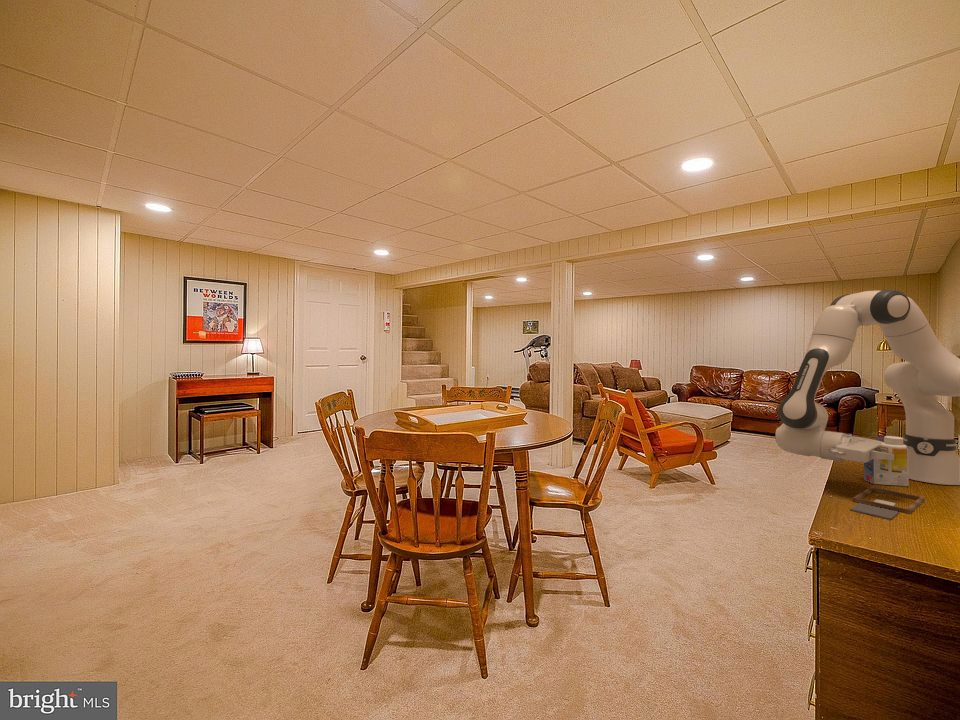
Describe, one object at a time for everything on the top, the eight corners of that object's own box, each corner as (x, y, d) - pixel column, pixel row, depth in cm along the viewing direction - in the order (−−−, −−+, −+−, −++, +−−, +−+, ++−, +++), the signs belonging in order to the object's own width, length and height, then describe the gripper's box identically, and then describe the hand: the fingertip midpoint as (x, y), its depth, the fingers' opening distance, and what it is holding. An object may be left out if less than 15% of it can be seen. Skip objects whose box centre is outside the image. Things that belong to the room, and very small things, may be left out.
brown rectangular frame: (870, 489, 131) (870, 486, 131) (924, 500, 122) (924, 497, 122) (852, 501, 121) (852, 497, 121) (910, 514, 112) (910, 510, 112)
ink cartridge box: (897, 481, 140) (898, 437, 140) (910, 486, 135) (911, 440, 135) (861, 479, 142) (862, 435, 142) (873, 484, 137) (874, 439, 137)
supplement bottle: (910, 474, 122) (911, 438, 122) (901, 476, 120) (902, 439, 120) (885, 469, 127) (886, 434, 127) (876, 471, 125) (876, 436, 125)
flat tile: (876, 502, 122) (876, 499, 122) (895, 506, 119) (895, 503, 119) (872, 505, 119) (873, 502, 119) (892, 509, 116) (892, 506, 116)
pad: (859, 504, 119) (859, 502, 119) (898, 513, 112) (899, 511, 112) (850, 510, 114) (850, 508, 114) (891, 520, 108) (891, 518, 108)
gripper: (825, 440, 128) (888, 449, 117) (847, 432, 140) (906, 439, 129) (824, 461, 128) (887, 472, 117) (846, 452, 140) (905, 460, 129)
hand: (897, 455), depth 123 cm, fingers closed on supplement bottle, 5 cm apart
